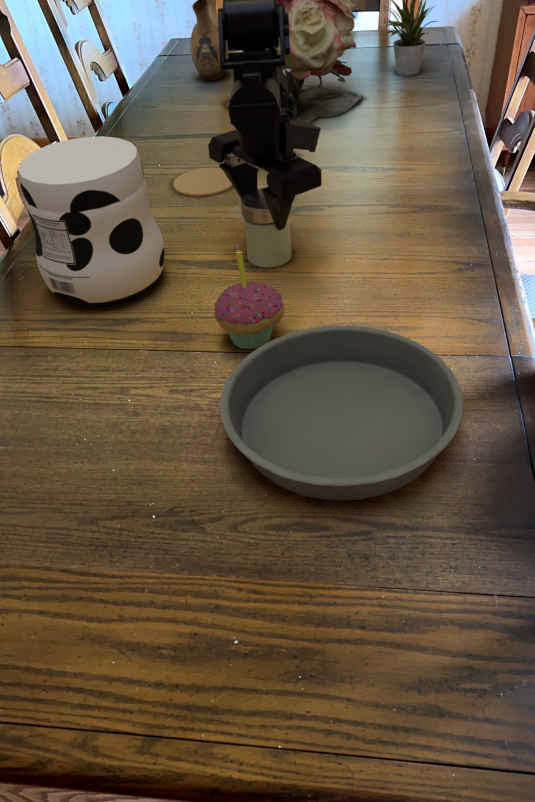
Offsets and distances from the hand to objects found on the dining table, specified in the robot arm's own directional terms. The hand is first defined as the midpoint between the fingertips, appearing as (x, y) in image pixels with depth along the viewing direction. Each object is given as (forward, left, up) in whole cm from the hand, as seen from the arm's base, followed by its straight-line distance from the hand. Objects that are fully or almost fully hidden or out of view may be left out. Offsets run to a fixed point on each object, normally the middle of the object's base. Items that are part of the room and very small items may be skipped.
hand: (266, 220), depth 100 cm
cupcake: (+17, +11, -6) cm, 21 cm away
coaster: (-14, -26, -6) cm, 30 cm away
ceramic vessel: (-59, -65, -6) cm, 88 cm away
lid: (0, 0, +3) cm, 3 cm away
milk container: (+18, -15, -6) cm, 24 cm away
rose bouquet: (-54, -35, -6) cm, 65 cm away
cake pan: (+24, +29, -6) cm, 38 cm away
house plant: (-83, -27, -6) cm, 88 cm away
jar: (0, 0, -6) cm, 6 cm away
